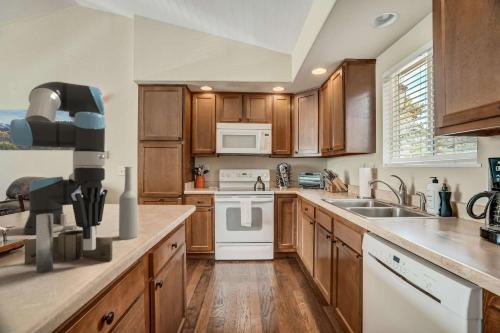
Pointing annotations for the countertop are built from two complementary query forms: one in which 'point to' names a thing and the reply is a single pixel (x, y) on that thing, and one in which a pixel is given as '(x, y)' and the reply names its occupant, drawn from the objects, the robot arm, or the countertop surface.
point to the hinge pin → (44, 243)
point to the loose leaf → (100, 250)
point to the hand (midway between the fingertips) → (89, 249)
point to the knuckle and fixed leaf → (59, 247)
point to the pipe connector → (64, 225)
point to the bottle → (128, 209)
